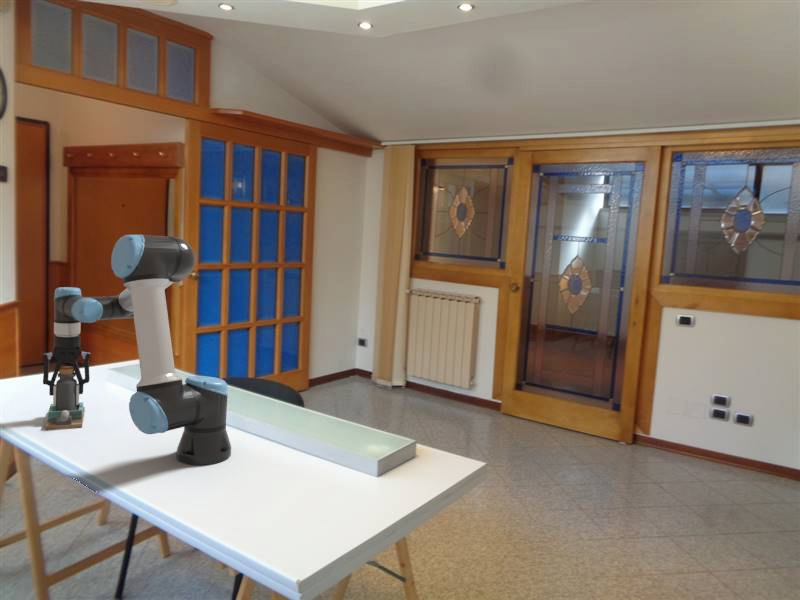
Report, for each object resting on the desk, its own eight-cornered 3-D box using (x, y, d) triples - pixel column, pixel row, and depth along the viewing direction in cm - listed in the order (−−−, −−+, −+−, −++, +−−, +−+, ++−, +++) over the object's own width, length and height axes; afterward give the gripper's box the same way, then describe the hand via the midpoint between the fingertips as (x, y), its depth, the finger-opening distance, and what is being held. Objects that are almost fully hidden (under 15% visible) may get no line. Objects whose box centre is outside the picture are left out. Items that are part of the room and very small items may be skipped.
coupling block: (81, 427, 186) (82, 413, 186) (45, 430, 182) (45, 415, 181) (84, 410, 203) (84, 396, 203) (51, 412, 199) (51, 398, 198)
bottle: (80, 410, 195) (81, 366, 194) (68, 415, 189) (69, 370, 188) (64, 409, 196) (64, 365, 194) (52, 414, 190) (52, 369, 188)
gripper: (100, 332, 197) (98, 399, 200) (34, 333, 189) (34, 402, 191) (99, 336, 191) (98, 405, 193) (31, 337, 182) (31, 409, 185)
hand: (66, 404), depth 192 cm, fingers closed on bottle, 6 cm apart
